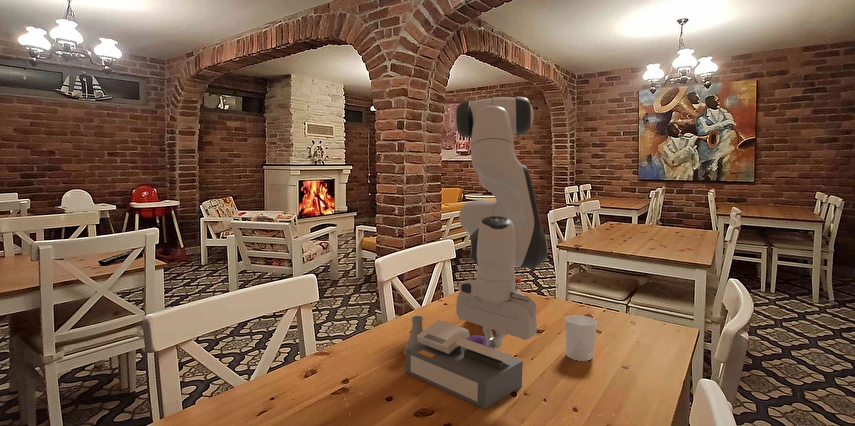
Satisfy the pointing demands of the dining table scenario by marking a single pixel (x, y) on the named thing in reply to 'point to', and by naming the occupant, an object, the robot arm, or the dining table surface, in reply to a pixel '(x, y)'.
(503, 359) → the switch
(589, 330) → the white cup
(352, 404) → the dining table surface
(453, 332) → the switch
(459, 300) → the robot arm
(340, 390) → the dining table surface
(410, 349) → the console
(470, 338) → the donut
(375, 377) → the dining table surface
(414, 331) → the flask
